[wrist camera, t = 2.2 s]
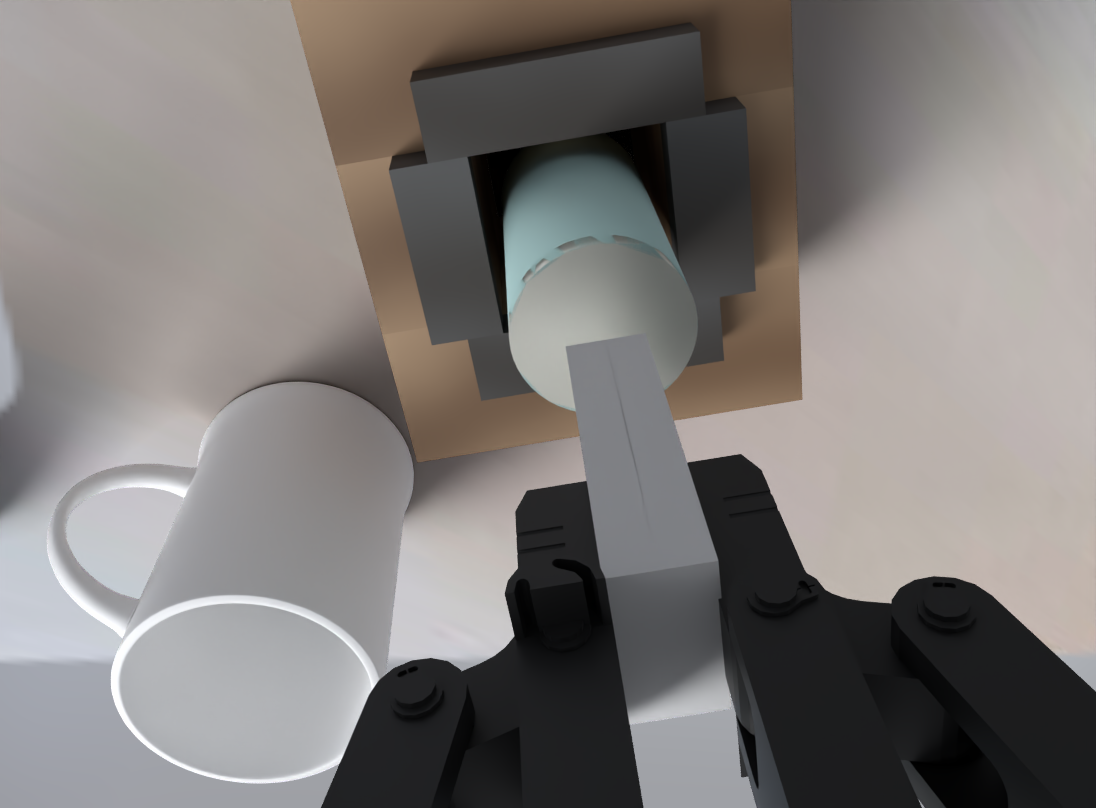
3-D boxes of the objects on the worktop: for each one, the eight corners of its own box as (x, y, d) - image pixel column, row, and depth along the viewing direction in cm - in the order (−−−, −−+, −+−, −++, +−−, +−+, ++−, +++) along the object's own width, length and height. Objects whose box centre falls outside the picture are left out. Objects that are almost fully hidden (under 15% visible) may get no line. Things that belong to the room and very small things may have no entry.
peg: (489, 140, 27) (493, 261, 20) (632, 115, 27) (690, 228, 20) (515, 272, 29) (525, 427, 22) (648, 249, 29) (704, 398, 22)
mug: (88, 467, 39) (-51, 697, 29) (171, 301, 36) (47, 495, 26) (354, 581, 43) (314, 820, 33) (452, 440, 40) (442, 658, 30)
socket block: (329, -55, 30) (276, -10, 22) (718, -126, 30) (802, -105, 22) (429, 344, 37) (414, 485, 30) (743, 291, 37) (813, 419, 29)
